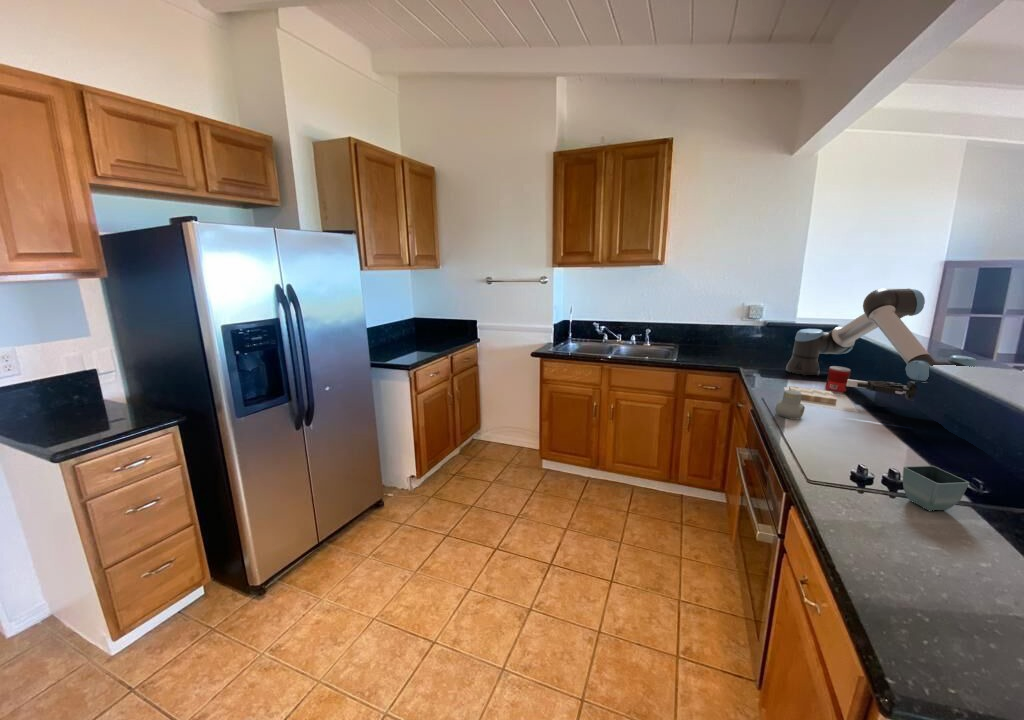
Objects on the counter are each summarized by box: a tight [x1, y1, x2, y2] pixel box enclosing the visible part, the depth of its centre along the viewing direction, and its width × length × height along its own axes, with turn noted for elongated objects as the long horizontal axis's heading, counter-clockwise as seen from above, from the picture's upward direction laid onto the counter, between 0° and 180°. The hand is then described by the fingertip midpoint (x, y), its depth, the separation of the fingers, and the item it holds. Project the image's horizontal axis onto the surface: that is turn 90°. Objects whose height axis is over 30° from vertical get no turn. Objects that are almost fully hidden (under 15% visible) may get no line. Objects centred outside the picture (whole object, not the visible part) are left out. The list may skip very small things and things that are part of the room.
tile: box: [788, 385, 837, 405], centre depth 189 cm, size 12×2×16 cm
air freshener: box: [774, 390, 805, 420], centre depth 167 cm, size 11×8×10 cm
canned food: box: [825, 365, 851, 393], centre depth 200 cm, size 8×8×11 cm
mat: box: [783, 386, 859, 413], centre depth 188 cm, size 24×24×1 cm
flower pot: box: [902, 465, 970, 512], centre depth 108 cm, size 9×9×9 cm
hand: (847, 382), depth 181 cm, fingers closed
